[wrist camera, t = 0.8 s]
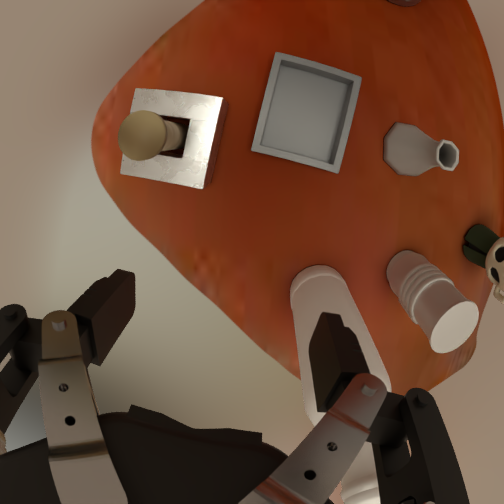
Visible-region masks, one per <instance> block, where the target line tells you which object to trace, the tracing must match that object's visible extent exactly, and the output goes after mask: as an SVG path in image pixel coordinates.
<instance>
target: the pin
mask: <svg viewBox="0 0 504 504" xmlns="http://www.w3.org/2000/svg"><path fill="white" fill-rule="evenodd" d="M188 129H189V126H187V125H185V124H181V123H176V122H170V121H165V120H163V119H162V117H161V116H160V115H158V114H157V113H155V112H151V111H146V110H140V111H136V112H133V113H132V114H130V115H129V116H127V117H126V118H125V120H124V121H123V122H122V124H121V126H120V129H119V132H118V143H119V147H120V149H121V151H122V152H123V154H124V155H125V156H126V157H128V158H129V159H132V160H135V161H143V160H148V159H151V158H153V157H155V156H156V155H158V154H159V153H160V152H161V151H167V150H175V149H183V148H185V143H186V138H187V133H188Z"/></svg>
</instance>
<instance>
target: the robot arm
mask: <svg viewBox="0 0 504 504" xmlns="http://www.w3.org/2000/svg"><path fill="white" fill-rule="evenodd" d="M388 1H390V2H392V3H394V4H397V5H401V6H414V5H416V4H417V3H419V2H420V1H421V0H388ZM134 310H135V274H134V273H132V272H128V271H125V270H121V269H117V270H116V271H115V272H114V273H113V274H112V275H111V276H109V277H108V278H107V277H104V278H102V279H100V280H97V281H96V282H94V283H93V284H92V285H91V286H90V287H89V289H87V290H86V291H85V292H84V294H82V295H81V296H80V297H79V298H78V299H77V300H76V301H75V302H74V303H73V304H72V305H71V306H70V307H69V308H68V310H67V311H64V310H57V311H53V312H51V313H49V314H47V315H46V316H45V317H44V318H43V320H42V319H34V318H28V317H27V313H26V310H25V308H24V307H23V306H21V305H18V304H11V305H7V306H5V307H3V308H1V310H0V363H1V362H2V360H3V359H4V358H5V357H6V355H7V354H8V353H10V355H11V359H10V360H9V362H8V363H7V364H6V366H5V367H4V368H3V370H2V371H1V372H0V504H334V503H333V502H332V501H331V500H330V499H329V496H330V495H331V494H332V492H333V491H334V489H335V488H336V487H337V485H338V484H339V482H340V481H341V479H342V478H343V476H344V475H345V473H346V472H347V470H348V469H349V467H350V466H351V464H352V463H353V461H354V460H355V458H356V456H357V455H358V453H359V451H360V450H361V448H362V446H363V445H364V443H365V441H366V442H370V443H371V444H372V449H373V455H374V461H375V467H376V474H377V481H378V488H379V496H380V504H470V503H469V499H468V495H467V491H466V488H465V484H464V481H463V477H462V474H461V471H460V467H459V464H458V461H457V458H456V455H455V452H454V449H453V446H452V443H451V441H450V438H449V436H448V432H447V430H446V427H445V424H444V422H443V419H442V417H441V414H440V412H439V409H438V407H437V405H436V402H435V400H434V398H433V397H432V395H431V394H430V393H429V392H427V391H425V390H423V389H421V388H412V389H410V390H409V391H408V392H407V393H406V395H405V396H402V395H399V394H395V393H391V392H388V391H387V388H386V385H385V384H384V382H383V381H382V380H381V379H379V378H378V377H376V376H374V375H372V374H371V373H370V370H369V368H368V365H367V362H366V360H365V357H364V354H363V352H362V349H361V346H360V345H359V341H358V339H357V336H356V334H355V333H354V332H353V331H352V330H351V329H350V328H349V327H345V326H344V323H343V321H342V318H341V315H340V314H335V313H329V312H322V313H321V315H320V317H319V319H318V322H317V325H316V327H315V330H314V332H313V335H312V337H311V340H310V343H309V350H308V353H309V360H310V366H311V372H312V379H313V386H314V392H315V399H316V406H317V412H323V413H326V414H325V415H324V416H323V418H322V419H321V420H320V421H319V422H318V424H317V425H316V426H315V427H314V428H313V430H312V431H311V432H310V433H309V434H308V436H307V437H306V438H305V439H304V440H303V441H302V442H301V443H300V445H299V446H298V447H297V448H296V449H295V450H294V451H293V452H292V453H291V455H289V456H287V455H286V454H285V453H283V452H282V451H281V450H279V449H277V448H275V447H274V446H271V445H269V444H267V443H264V442H262V433H259V432H251V431H243V430H237V429H231V428H223V429H194V428H191V427H189V426H186V425H184V424H182V423H180V422H178V421H176V420H174V419H172V418H170V417H168V416H166V415H164V414H162V413H158V412H155V411H151V410H148V409H145V408H142V407H138V406H135V405H131V406H130V409H129V412H111V413H106V414H101V415H100V413H99V410H98V407H97V403H96V400H95V396H94V392H93V389H92V385H91V381H90V377H89V373H88V369H87V368H88V366H89V364H90V363H93V364H96V365H98V366H101V364H102V363H103V361H104V359H105V358H106V356H107V355H108V353H109V351H110V350H111V348H112V347H113V345H114V344H115V342H116V340H117V339H118V337H119V336H120V334H121V333H122V331H123V330H124V328H125V327H126V325H127V324H128V322H129V321H130V319H131V318H132V316H133V313H134ZM38 376H39V384H40V394H41V403H42V411H43V418H44V424H45V430H46V435H47V437H46V438H44V439H41V440H39V441H37V442H34V443H31V444H29V445H26V446H23V447H21V448H18V449H15V450H12V451H9V452H7V451H6V448H5V446H6V439H5V435H4V434H5V432H6V430H7V428H8V426H9V425H10V423H11V421H12V419H13V417H14V416H15V414H16V412H17V410H18V409H19V407H20V405H21V404H22V402H23V400H24V399H25V397H26V395H27V394H28V392H29V390H30V389H31V387H32V386H33V384H34V383H35V381H36V379H37V378H38ZM407 440H409V444H410V448H411V457H410V453H409V449H408V445H407V442H406V441H407Z"/></svg>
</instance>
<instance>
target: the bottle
mask: <svg viewBox="0 0 504 504" xmlns="http://www.w3.org/2000/svg"><path fill="white" fill-rule="evenodd" d="M290 301H291V309H292V311H293V318H294V326H295V333H296V341H297V349H298V357H299V365H300V373H301V382H302V390H303V399H304V408H305V411H306V413H307V415H308V417H309V419H310V420H311V422H312V423H313V425H314V426H316V425H317V424H318V422H319V421H320V420H321V419H322V418H323V416H324V415H325V414H326V413H323V412H317V406H316V399H315V392H314V386H313V379H312V372H311V366H310V360H309V353H308V350H309V343H310V340H311V337H312V335H313V332H314V330H315V327H316V325H317V322H318V319H319V317H320V315H321V313H322V312H329V313H335V314H340V315H341V318H342V321H343V323H344V326H345V327H349V328H350V329H351V330H352V331H353V332H354V333H355V334H356V336H357V339H358V341H359V345H360V346H361V349H362V352H363V354H364V357H365V360H366V362H367V365H368V368H369V370H370V373H371V374H372V375H374V376H376V377H378V378H379V379H381V380H382V381H383V382H384V384H385V385H386V388H387V391H388V392H391V383H390V379H389V376H388V374H387V372H386V369H385V367H384V365H383V362H382V360H381V358H380V356H379V353H378V351H377V349H376V347H375V344H374V342H373V340H372V338H371V336H370V333H369V331H368V329H367V327H366V325H365V323H364V321H363V319H362V316H361V314H360V312H359V310H358V308H357V306H356V304H355V302H354V300H353V298H352V296H351V294H350V292H349V290H348V287H347V285H346V282H345V280H344V279H343V278H342V276H341V275H340V274H339V273H338V272H337V271H336V270H335V269H334V268H331V267H329V266H326V265H315V266H311V267H308V268H306V269H304V270H303V271H301V272H300V273H298V274H297V276H296V277H295V278H294V280H293V281H292V284H291V287H290ZM341 485H342V491H341V499H342V500H343V501H344V504H380V496H379V488H378V481H377V474H376V467H375V461H374V455H373V449H372V444H371V443H370V442H366V441H365V443H364V445H363V446H362V448H361V450H360V451H359V453H358V455H357V456H356V458H355V460H354V461H353V463H352V464H351V466H350V467H349V469H348V470H347V472H346V473H345V475H344V476H343V478H342V479H341Z"/></svg>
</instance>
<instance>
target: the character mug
mask: <svg viewBox="0 0 504 504" xmlns="http://www.w3.org/2000/svg"><path fill="white" fill-rule="evenodd" d="M465 240H467V241H468V242H469V247H467V246H465V245H464V246H463V249H464V255H465V256H466V258H467V259H468V260H469V261H471V262H473V263H475V264H477V265H479V266H481V267H483V268H485V269H486V272H487V276H488V278H489V279H490V281H491V282H492V283H494V284H495V285H496V287H495V290H494V296H495V298H497V299H498V300H499V301H500V302H501V303H502V304H504V297H503V296H502V295H501V294H500V293H499V292H500V289H501V290H502V291H504V237H502V238H500V237H498V236H497V235H496V234H495V233H494V232H493V231H491V230H490V229H489V228H487V227H486V226H484V225H482V224H481V225H475V226H474V227H472V228H471V229H470V230H469V232H468V233H467V235H466V237H465Z"/></svg>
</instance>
